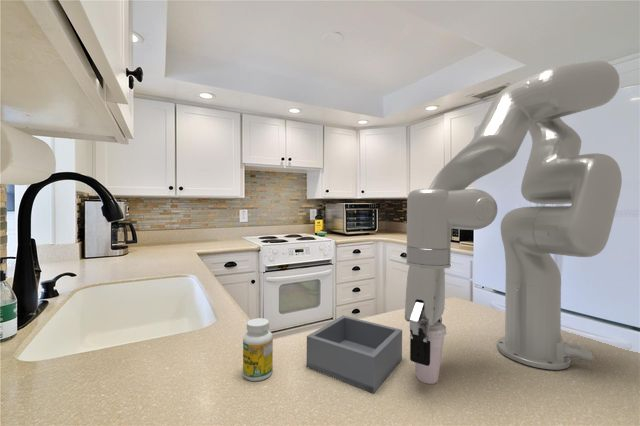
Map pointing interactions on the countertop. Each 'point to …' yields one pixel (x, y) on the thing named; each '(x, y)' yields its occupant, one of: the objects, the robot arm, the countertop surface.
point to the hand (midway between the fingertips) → (426, 352)
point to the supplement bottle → (257, 350)
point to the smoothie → (432, 354)
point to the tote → (355, 351)
